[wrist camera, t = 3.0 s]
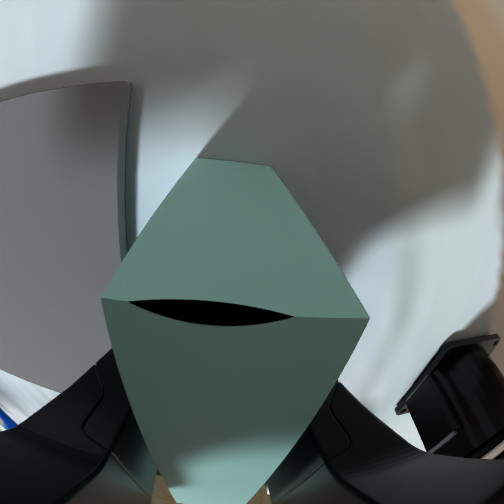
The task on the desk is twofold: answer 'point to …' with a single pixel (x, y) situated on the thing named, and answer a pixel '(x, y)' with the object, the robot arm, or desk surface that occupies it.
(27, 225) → the mat
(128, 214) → the desk surface
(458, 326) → the desk surface
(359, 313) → the teal slab
